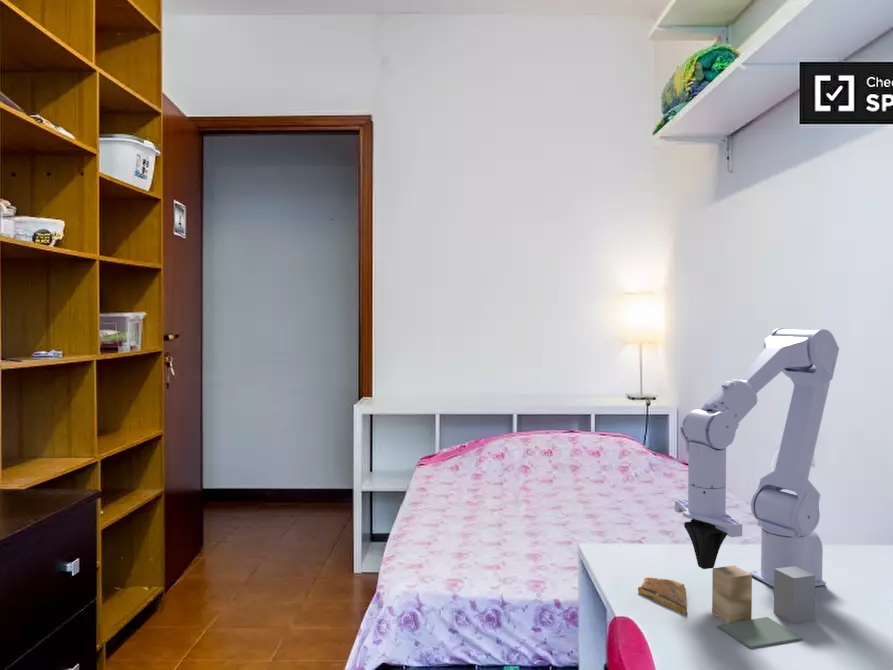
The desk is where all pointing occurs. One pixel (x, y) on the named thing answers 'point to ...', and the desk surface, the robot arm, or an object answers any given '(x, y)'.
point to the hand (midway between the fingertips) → (706, 567)
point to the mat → (759, 632)
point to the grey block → (794, 594)
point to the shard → (665, 592)
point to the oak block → (732, 594)
